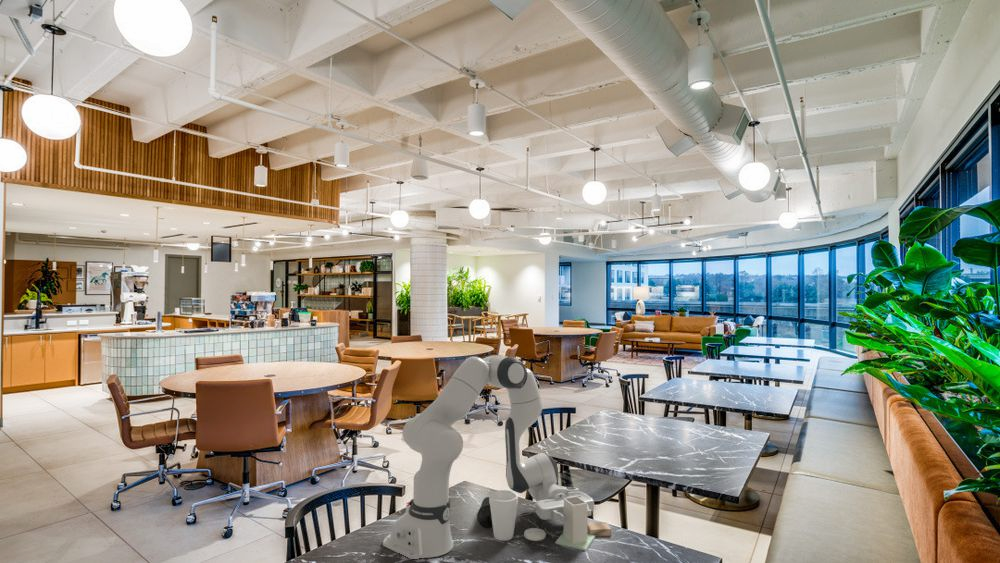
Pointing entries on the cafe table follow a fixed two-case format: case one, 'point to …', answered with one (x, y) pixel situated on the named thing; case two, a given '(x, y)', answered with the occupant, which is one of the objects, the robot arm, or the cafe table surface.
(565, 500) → the canister
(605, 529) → the oak block
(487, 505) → the drinking cup
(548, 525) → the cafe table surface
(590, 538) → the mat
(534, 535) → the white pebble stone
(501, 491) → the foam cup
